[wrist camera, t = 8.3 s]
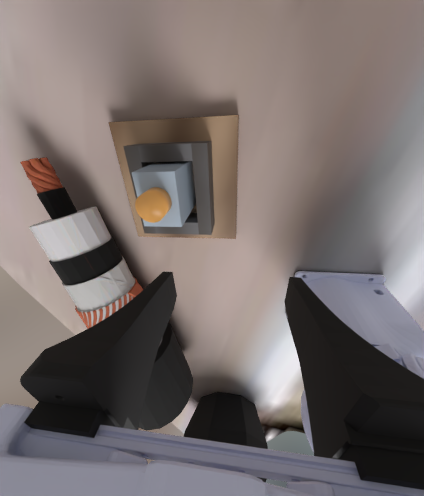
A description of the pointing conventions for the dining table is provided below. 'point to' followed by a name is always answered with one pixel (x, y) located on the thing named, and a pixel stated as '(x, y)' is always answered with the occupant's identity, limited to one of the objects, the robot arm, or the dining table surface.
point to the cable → (103, 286)
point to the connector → (165, 193)
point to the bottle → (227, 421)
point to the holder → (204, 168)
